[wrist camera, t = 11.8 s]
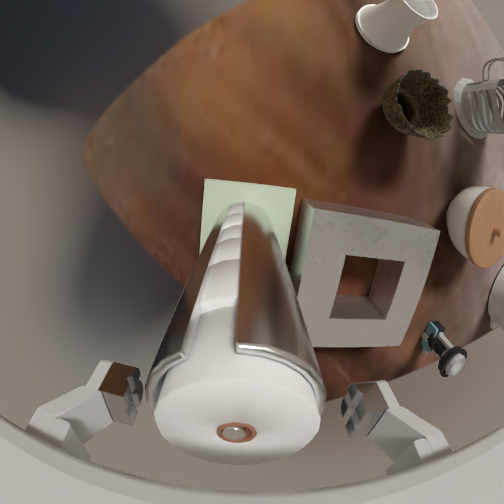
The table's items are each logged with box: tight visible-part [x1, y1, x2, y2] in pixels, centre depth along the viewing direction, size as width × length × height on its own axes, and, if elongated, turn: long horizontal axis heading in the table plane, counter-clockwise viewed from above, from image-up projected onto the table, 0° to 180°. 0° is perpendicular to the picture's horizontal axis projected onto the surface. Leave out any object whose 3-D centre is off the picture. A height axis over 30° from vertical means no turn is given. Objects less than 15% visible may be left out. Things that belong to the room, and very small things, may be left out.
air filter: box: [145, 202, 326, 465], centre depth 19 cm, size 6×6×25 cm
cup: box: [382, 70, 453, 139], centre depth 23 cm, size 8×7×8 cm
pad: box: [200, 179, 296, 260], centre depth 31 cm, size 10×10×1 cm
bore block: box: [289, 199, 440, 347], centre depth 31 cm, size 16×16×6 cm
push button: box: [421, 321, 467, 377], centre depth 34 cm, size 7×5×10 cm
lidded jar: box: [446, 186, 504, 269], centre depth 27 cm, size 11×11×9 cm
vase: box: [355, 0, 438, 53], centre depth 18 cm, size 8×8×10 cm
